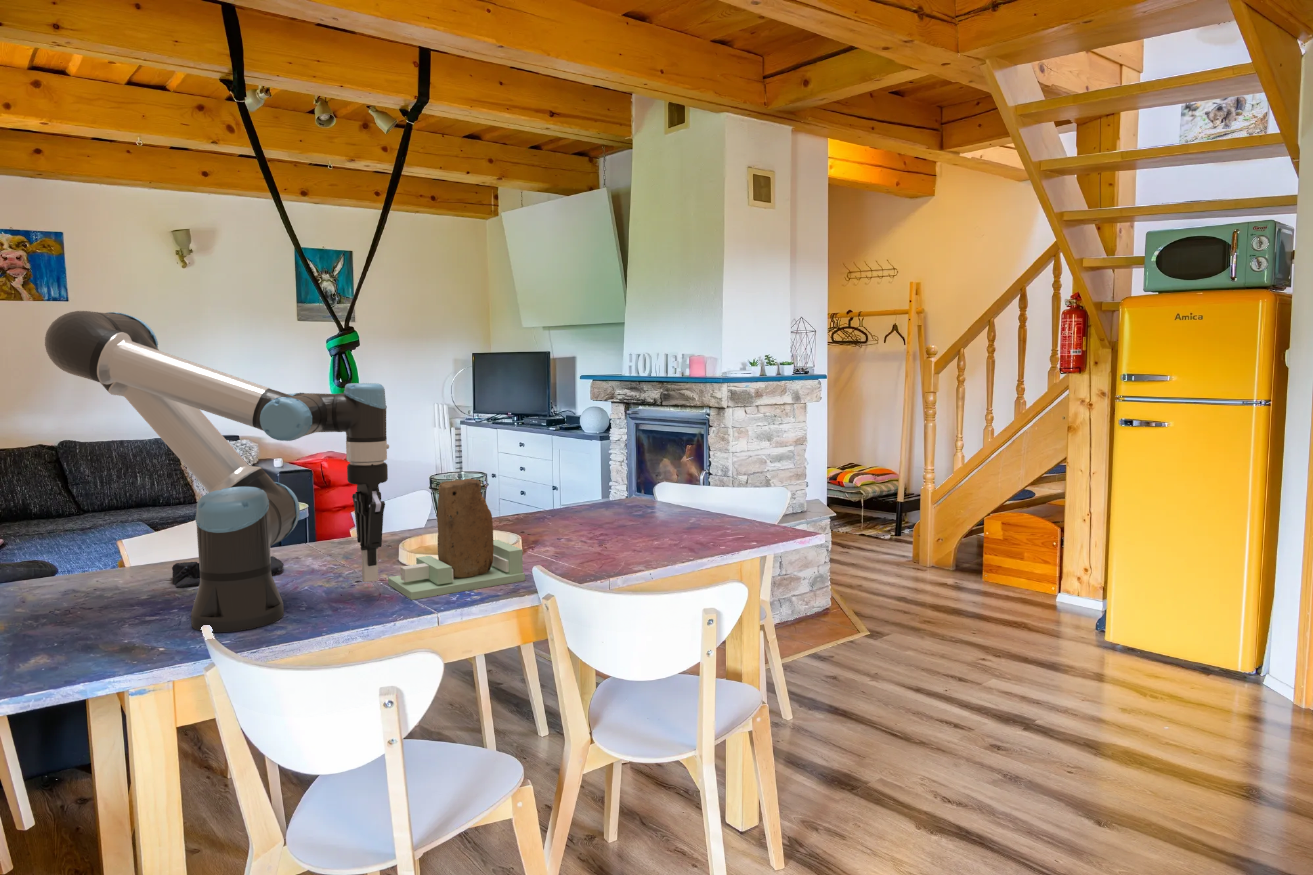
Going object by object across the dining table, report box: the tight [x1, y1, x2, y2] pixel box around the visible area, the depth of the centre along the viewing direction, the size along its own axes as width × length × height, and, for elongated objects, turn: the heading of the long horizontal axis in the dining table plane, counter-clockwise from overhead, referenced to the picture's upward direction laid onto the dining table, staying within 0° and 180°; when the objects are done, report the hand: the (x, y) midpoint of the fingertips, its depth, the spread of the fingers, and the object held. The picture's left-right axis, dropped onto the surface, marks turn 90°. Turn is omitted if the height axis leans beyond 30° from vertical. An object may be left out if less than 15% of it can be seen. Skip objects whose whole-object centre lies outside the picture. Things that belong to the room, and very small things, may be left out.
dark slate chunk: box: [171, 555, 285, 589], centre depth 192 cm, size 15×22×5 cm
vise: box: [387, 539, 526, 601], centre depth 184 cm, size 24×14×6 cm, turn 125°
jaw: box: [399, 555, 454, 585], centre depth 180 cm, size 8×12×3 cm
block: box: [436, 478, 494, 578], centre depth 185 cm, size 11×8×20 cm
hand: (370, 580), depth 174 cm, fingers closed
